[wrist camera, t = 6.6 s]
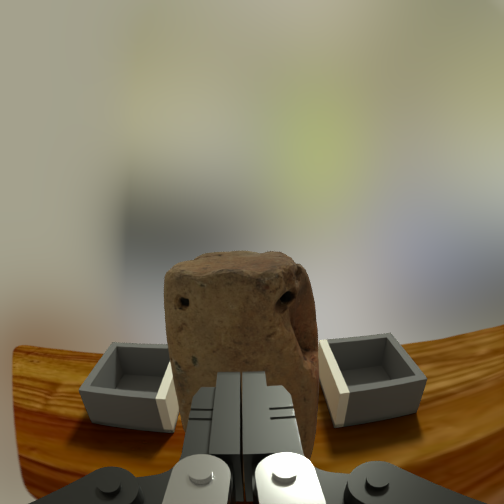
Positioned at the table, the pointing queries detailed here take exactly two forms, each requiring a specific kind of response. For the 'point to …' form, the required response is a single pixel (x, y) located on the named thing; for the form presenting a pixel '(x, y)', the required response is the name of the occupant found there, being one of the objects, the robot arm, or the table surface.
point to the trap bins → (330, 376)
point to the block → (244, 328)
